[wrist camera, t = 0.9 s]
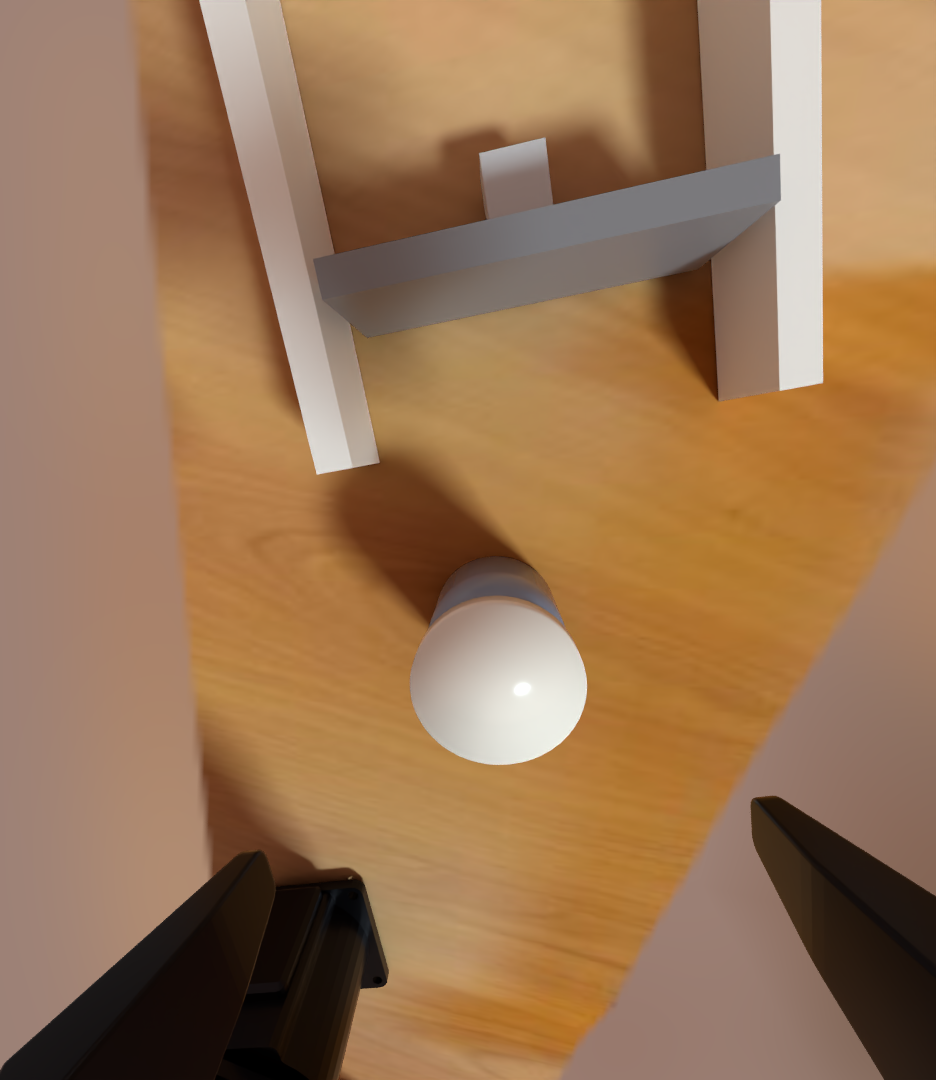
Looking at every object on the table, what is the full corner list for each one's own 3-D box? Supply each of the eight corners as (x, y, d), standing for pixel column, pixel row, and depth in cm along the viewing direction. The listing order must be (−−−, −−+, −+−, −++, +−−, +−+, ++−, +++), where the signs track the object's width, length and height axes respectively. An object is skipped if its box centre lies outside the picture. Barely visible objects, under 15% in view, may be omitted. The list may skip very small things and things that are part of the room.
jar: (564, 660, 19) (596, 754, 13) (446, 676, 19) (428, 773, 14) (548, 544, 18) (575, 593, 12) (423, 564, 18) (393, 619, 13)
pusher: (697, 269, 15) (781, 199, 11) (366, 337, 16) (322, 300, 12) (689, 134, 14) (776, 1, 10) (341, 215, 15) (283, 127, 11)
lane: (752, 395, 16) (866, 375, 11) (350, 468, 17) (296, 478, 13) (726, -292, 12) (884, -779, 7) (212, -130, 14) (56, -451, 9)
